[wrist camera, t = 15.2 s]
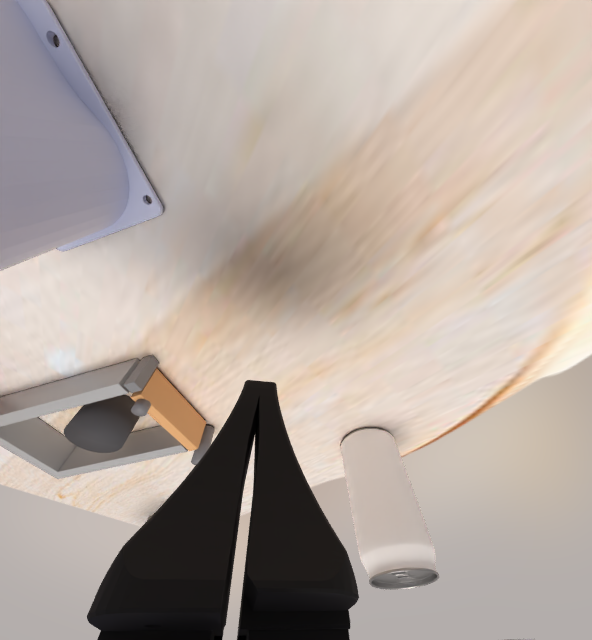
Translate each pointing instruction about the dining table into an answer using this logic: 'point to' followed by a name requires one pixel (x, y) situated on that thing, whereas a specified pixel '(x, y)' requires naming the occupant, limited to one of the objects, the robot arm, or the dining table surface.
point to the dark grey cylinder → (102, 425)
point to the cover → (173, 414)
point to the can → (386, 513)
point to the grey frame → (51, 446)
